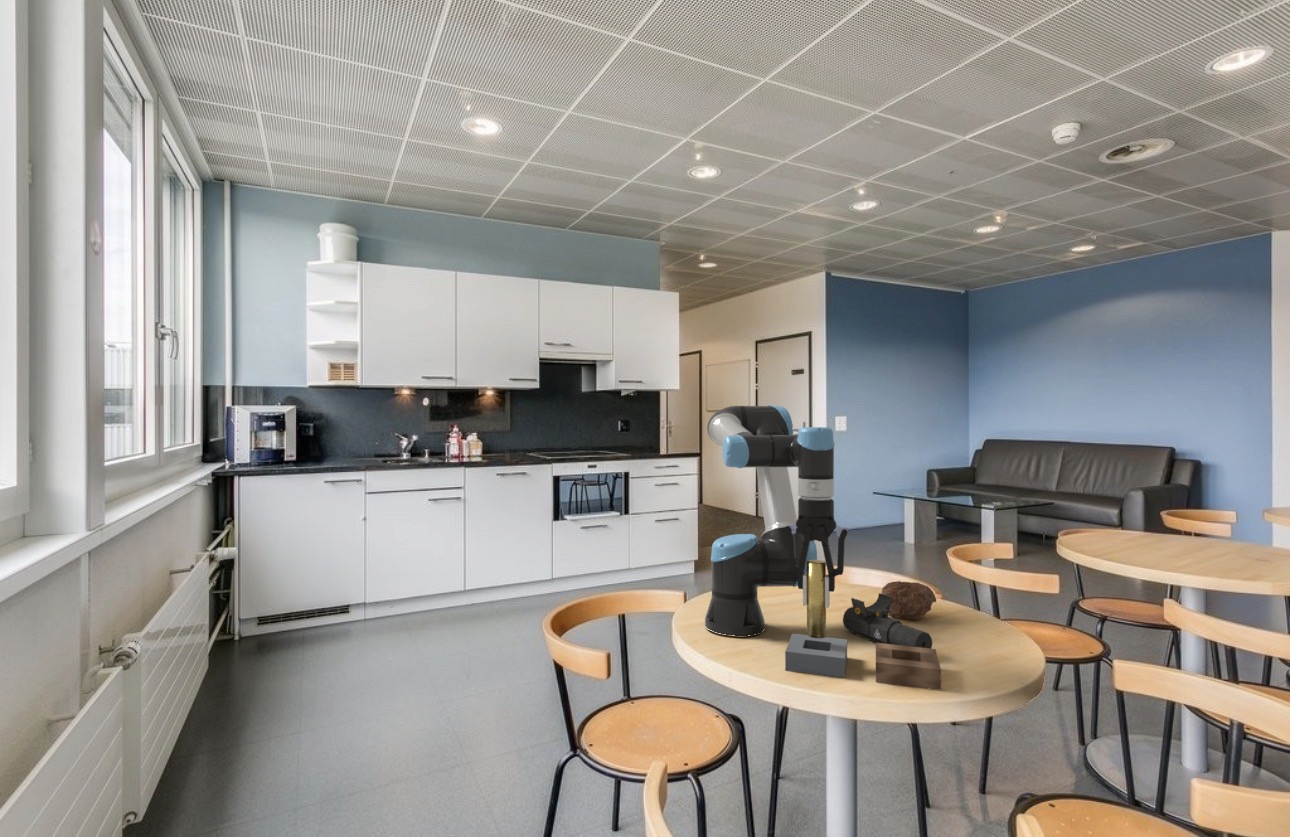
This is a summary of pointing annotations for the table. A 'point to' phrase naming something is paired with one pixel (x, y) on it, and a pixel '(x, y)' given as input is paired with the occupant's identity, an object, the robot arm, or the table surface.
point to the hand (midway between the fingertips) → (816, 604)
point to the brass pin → (816, 599)
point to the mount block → (816, 655)
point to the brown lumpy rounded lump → (909, 599)
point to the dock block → (907, 666)
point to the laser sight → (882, 625)
